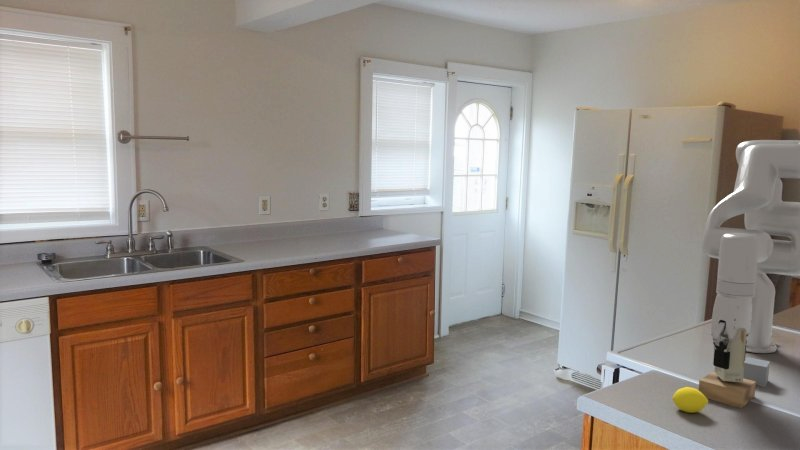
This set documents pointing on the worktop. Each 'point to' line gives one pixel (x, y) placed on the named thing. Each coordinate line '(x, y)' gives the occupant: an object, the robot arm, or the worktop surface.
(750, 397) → the oak block
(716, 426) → the worktop surface
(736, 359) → the skincare box
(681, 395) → the lemon
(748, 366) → the grey block
